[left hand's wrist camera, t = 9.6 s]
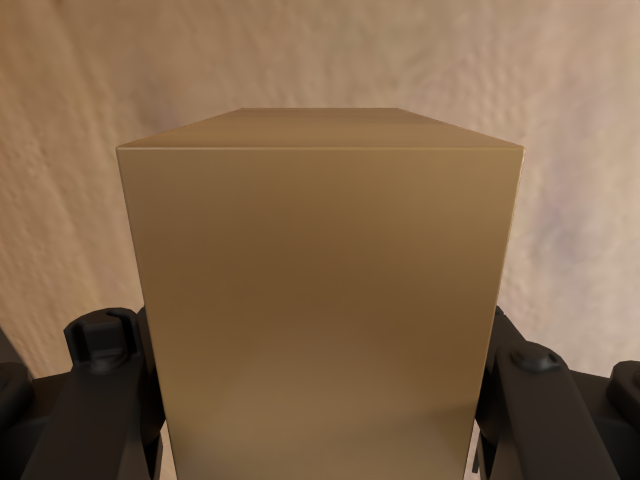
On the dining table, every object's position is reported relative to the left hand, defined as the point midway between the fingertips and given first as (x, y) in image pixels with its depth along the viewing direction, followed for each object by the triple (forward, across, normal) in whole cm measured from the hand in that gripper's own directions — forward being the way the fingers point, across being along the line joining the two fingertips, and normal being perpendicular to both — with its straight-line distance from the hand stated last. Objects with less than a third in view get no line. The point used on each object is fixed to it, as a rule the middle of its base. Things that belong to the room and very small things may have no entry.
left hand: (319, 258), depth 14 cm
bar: (+1, 0, -22) cm, 22 cm away
